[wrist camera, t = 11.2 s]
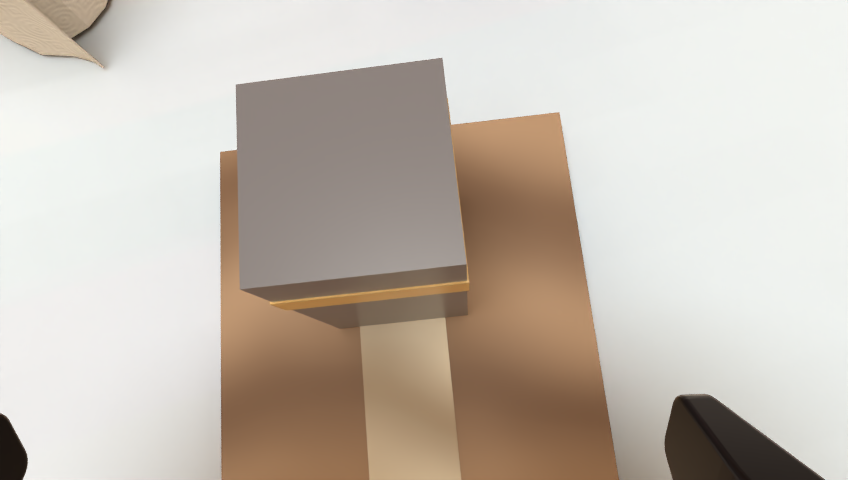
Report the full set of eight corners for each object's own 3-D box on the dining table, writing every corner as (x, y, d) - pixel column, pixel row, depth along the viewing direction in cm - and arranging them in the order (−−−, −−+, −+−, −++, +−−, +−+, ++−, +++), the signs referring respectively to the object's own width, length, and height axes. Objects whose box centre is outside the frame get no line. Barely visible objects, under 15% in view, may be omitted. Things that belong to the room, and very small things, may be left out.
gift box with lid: (469, 316, 20) (469, 266, 11) (338, 330, 20) (236, 292, 11) (454, 190, 21) (444, 56, 12) (330, 205, 21) (233, 82, 12)
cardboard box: (645, 714, 18) (662, 744, 16) (242, 739, 19) (222, 770, 17) (553, 129, 23) (559, 111, 21) (235, 166, 23) (219, 151, 22)
